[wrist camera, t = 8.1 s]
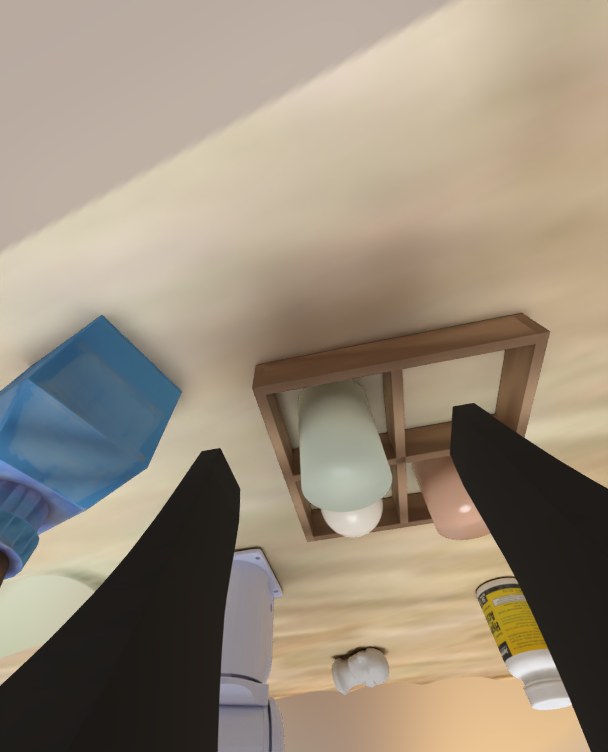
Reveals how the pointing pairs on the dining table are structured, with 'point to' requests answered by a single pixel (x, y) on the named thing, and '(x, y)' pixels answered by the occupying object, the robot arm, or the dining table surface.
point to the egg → (354, 520)
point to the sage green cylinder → (340, 448)
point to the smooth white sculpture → (360, 670)
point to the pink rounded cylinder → (448, 499)
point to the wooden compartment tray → (401, 445)
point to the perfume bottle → (75, 433)
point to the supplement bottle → (522, 643)
